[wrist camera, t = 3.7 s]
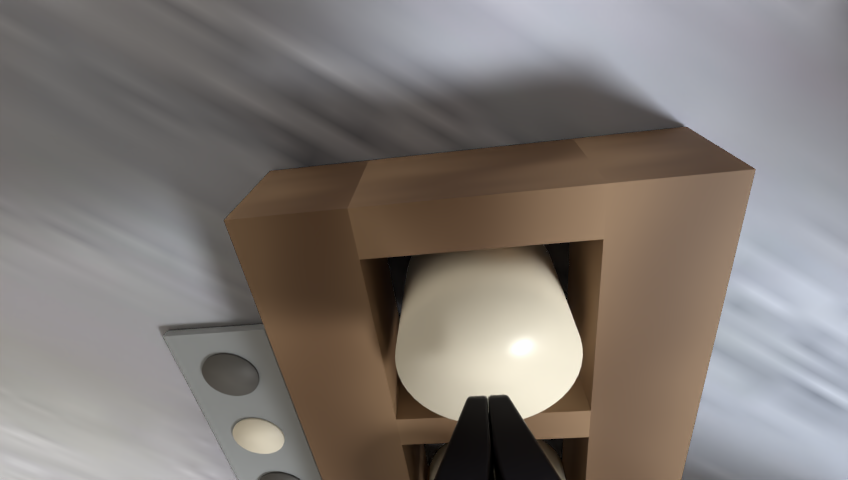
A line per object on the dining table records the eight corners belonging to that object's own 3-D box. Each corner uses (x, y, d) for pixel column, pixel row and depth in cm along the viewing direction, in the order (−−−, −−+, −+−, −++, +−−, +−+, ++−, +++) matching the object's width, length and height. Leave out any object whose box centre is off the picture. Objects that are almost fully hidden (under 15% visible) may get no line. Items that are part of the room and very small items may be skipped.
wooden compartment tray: (686, 126, 12) (756, 168, 9) (619, 562, 22) (642, 642, 19) (269, 171, 13) (223, 220, 10) (391, 565, 23) (383, 640, 20)
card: (267, 323, 15) (262, 331, 15) (334, 504, 20) (332, 513, 20) (167, 330, 16) (161, 338, 15) (258, 506, 21) (254, 515, 20)
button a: (555, 209, 12) (587, 278, 10) (553, 333, 15) (579, 420, 12) (395, 224, 13) (380, 293, 10) (416, 342, 15) (408, 428, 12)
